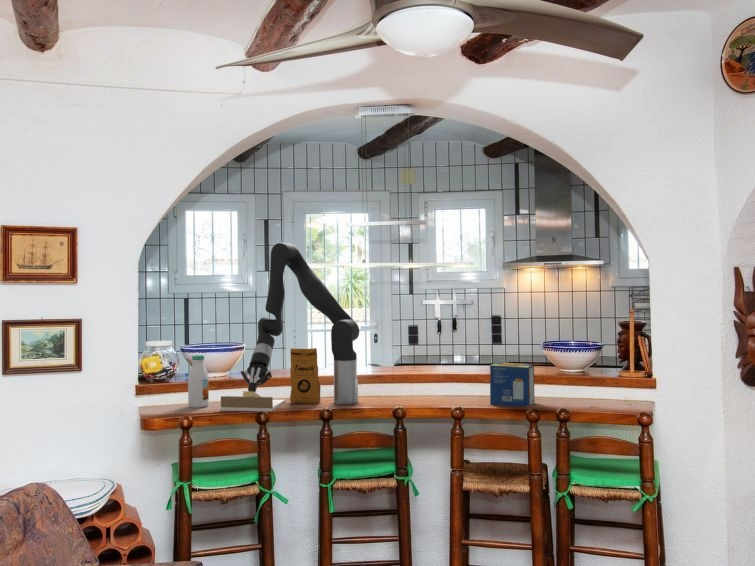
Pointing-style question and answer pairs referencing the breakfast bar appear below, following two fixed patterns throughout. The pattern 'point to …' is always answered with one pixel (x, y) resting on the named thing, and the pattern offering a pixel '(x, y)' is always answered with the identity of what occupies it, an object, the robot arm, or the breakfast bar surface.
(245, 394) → the bar
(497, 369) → the protein box
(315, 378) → the coffee package
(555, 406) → the breakfast bar surface
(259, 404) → the board
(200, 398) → the milk bottle
